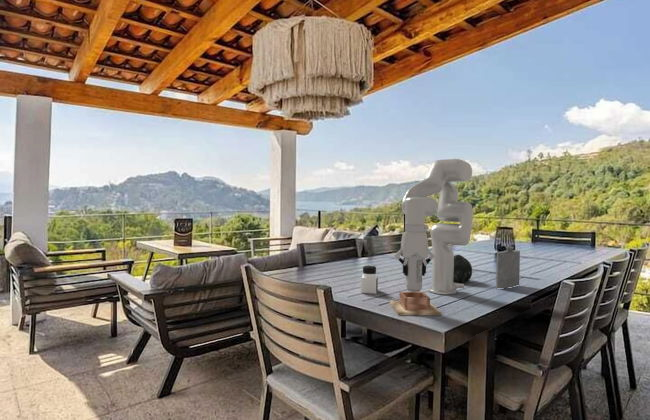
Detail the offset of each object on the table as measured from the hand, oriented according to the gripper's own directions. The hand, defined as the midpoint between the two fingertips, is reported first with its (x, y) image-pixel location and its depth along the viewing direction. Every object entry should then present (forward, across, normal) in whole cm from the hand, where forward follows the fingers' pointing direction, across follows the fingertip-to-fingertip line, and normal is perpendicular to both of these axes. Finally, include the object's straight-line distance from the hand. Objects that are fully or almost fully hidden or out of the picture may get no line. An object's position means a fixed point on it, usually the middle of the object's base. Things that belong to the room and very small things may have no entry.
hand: (414, 274), depth 148 cm
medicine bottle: (+13, +14, -27) cm, 33 cm away
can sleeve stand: (+13, 0, 0) cm, 13 cm away
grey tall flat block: (+13, -55, -35) cm, 67 cm away
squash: (+13, -35, -49) cm, 62 cm away
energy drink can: (+6, 0, 0) cm, 6 cm away
